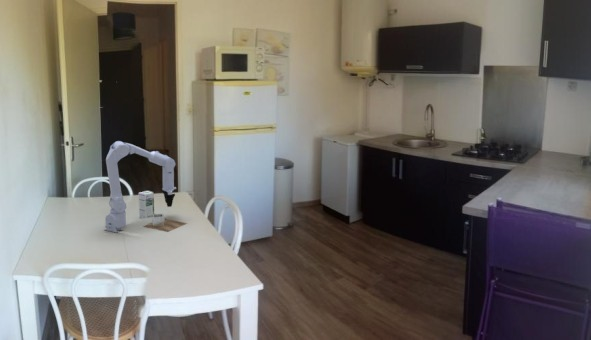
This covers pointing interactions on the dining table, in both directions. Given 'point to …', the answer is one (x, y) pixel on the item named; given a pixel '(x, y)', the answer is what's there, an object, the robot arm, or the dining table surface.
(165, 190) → the robot arm
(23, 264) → the dining table surface
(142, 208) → the syrup box
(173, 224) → the board
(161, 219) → the cube with square recess
